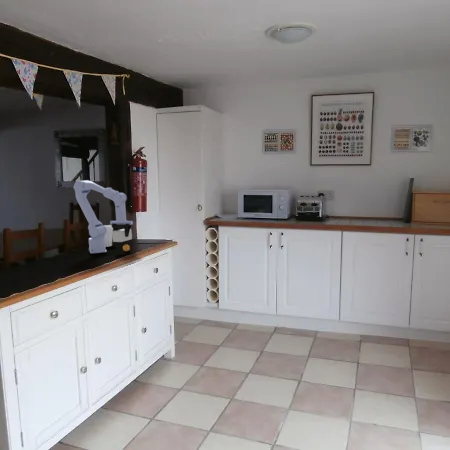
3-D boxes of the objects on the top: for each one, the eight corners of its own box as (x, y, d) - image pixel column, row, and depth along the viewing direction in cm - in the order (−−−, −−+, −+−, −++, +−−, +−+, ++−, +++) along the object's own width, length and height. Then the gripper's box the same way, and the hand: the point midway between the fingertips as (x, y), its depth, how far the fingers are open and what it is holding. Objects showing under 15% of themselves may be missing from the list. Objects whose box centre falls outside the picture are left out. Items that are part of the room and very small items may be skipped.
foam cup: (111, 246, 267) (110, 226, 266) (97, 247, 268) (95, 227, 266) (115, 244, 277) (114, 224, 275) (102, 244, 277) (100, 225, 275)
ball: (125, 242, 249) (128, 244, 252) (120, 247, 249) (124, 248, 253) (128, 247, 247) (132, 248, 250) (123, 251, 247) (127, 253, 251)
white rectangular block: (123, 238, 252) (123, 228, 251) (132, 239, 250) (131, 228, 249) (112, 241, 242) (112, 231, 241) (121, 242, 240) (120, 231, 239)
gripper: (135, 212, 245) (136, 235, 247) (114, 212, 250) (116, 235, 252) (128, 214, 239) (129, 237, 240) (107, 214, 244) (109, 237, 246)
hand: (122, 236), depth 246 cm, fingers closed on white rectangular block, 6 cm apart
